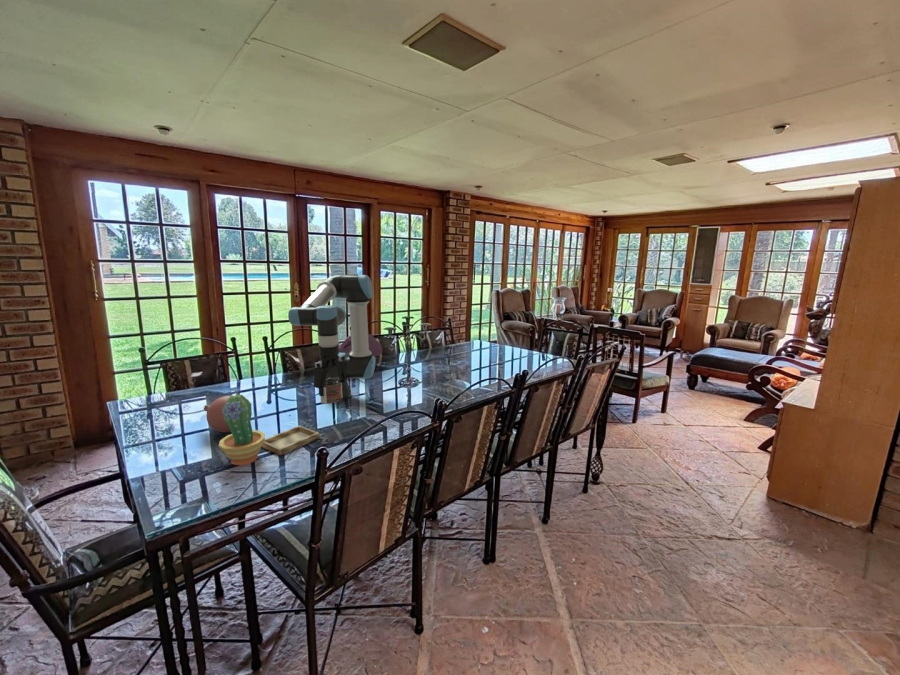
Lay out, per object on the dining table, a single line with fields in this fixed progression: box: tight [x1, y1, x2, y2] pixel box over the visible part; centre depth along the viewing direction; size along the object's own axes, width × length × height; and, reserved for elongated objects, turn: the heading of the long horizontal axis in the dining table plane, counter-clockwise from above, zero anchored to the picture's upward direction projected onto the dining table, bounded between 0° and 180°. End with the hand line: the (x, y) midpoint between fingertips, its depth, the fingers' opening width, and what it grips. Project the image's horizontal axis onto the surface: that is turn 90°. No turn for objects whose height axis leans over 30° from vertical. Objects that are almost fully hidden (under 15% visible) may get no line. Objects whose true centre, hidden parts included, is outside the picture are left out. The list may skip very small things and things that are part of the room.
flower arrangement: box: [338, 333, 383, 357], centre depth 257 cm, size 35×24×28 cm
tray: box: [261, 425, 320, 456], centre depth 161 cm, size 18×13×2 cm
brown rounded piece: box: [203, 395, 231, 433], centre depth 171 cm, size 15×20×15 cm
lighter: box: [321, 377, 343, 404], centre depth 161 cm, size 8×3×10 cm, turn 113°
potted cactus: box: [218, 393, 266, 466], centre depth 146 cm, size 15×15×25 cm
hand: (331, 400), depth 162 cm, fingers closed on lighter, 7 cm apart
